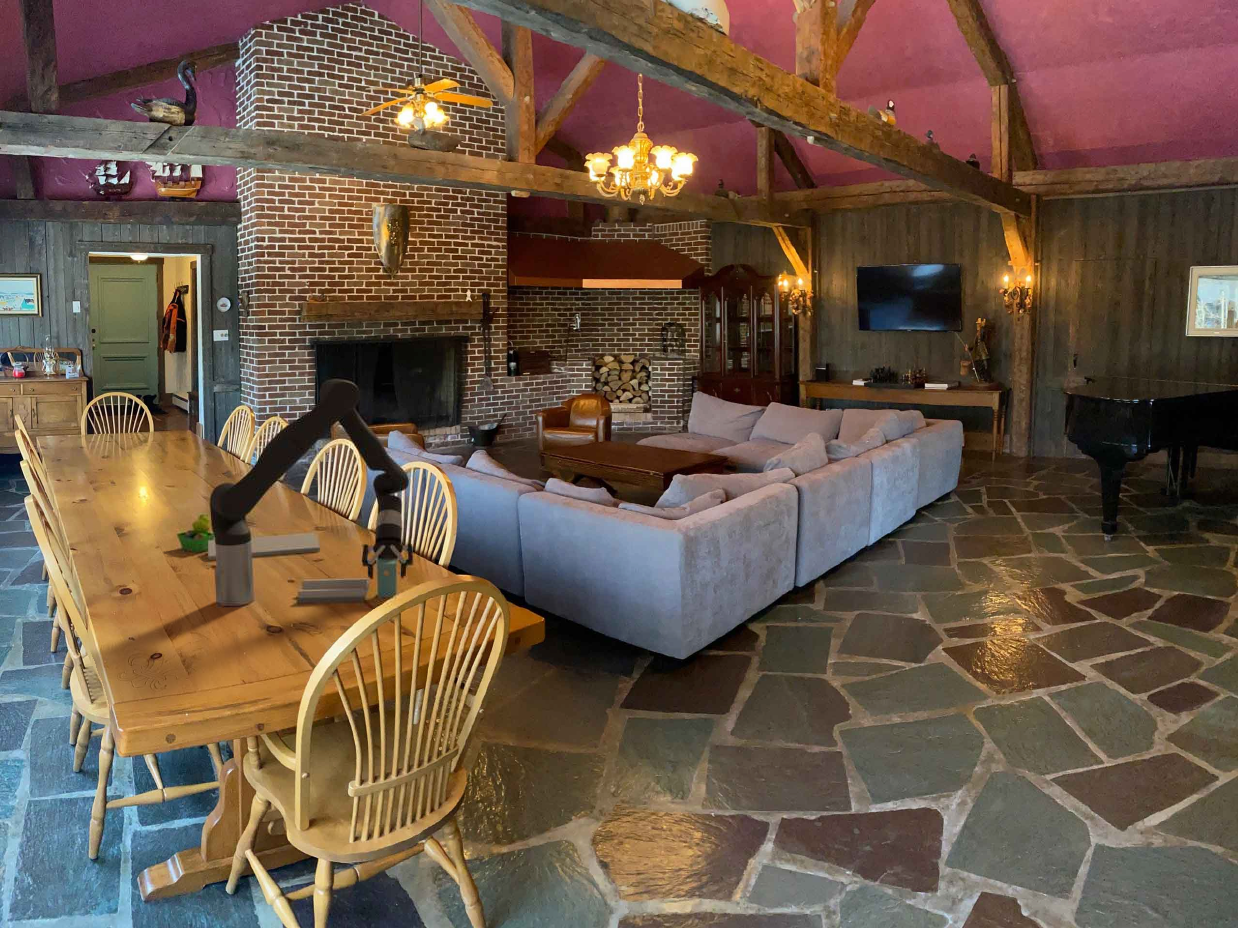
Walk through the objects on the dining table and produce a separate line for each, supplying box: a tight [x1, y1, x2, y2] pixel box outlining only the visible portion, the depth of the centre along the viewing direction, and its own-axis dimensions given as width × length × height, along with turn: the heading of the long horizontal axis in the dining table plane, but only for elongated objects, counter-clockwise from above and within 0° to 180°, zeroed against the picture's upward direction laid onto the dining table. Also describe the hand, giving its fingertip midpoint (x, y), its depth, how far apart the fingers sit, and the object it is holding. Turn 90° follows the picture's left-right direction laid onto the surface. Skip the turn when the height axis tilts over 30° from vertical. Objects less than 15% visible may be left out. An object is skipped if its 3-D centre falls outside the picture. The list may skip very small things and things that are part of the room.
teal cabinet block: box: [376, 559, 398, 599], centre depth 269 cm, size 5×6×10 cm
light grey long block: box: [207, 532, 321, 561], centre depth 312 cm, size 34×5×10 cm
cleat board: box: [297, 577, 370, 604], centre depth 269 cm, size 18×13×4 cm
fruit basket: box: [176, 513, 215, 553], centre depth 314 cm, size 11×9×11 cm
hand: (386, 577), depth 269 cm, fingers open, 8 cm apart
